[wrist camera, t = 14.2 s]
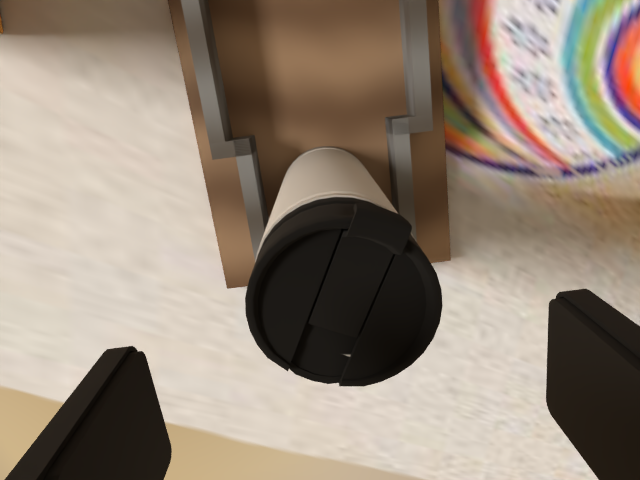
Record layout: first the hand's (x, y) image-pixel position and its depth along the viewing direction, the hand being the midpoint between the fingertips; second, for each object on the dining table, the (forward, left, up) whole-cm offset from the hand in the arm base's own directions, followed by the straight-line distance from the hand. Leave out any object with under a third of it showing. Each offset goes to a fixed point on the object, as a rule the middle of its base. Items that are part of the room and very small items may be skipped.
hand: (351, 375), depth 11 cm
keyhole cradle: (-6, 0, -24) cm, 25 cm away
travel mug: (0, 0, -24) cm, 24 cm away
